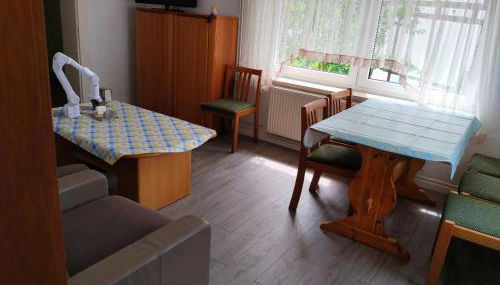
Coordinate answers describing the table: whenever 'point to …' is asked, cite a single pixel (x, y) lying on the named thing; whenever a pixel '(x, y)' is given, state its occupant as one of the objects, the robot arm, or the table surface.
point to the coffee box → (105, 98)
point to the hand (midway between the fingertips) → (95, 109)
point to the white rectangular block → (100, 109)
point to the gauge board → (105, 115)
